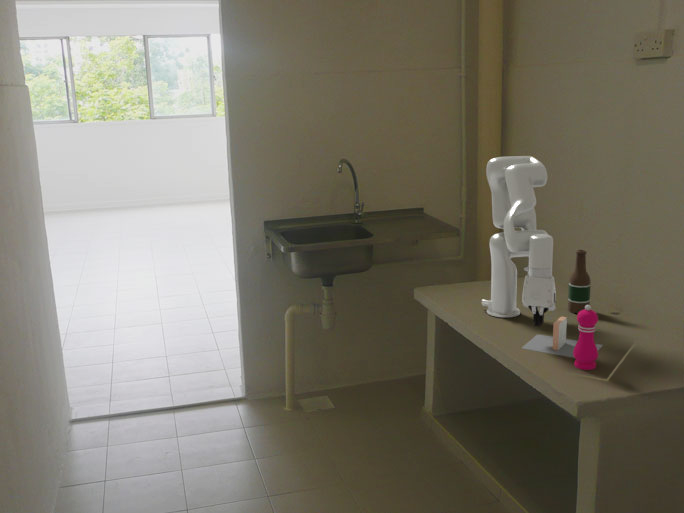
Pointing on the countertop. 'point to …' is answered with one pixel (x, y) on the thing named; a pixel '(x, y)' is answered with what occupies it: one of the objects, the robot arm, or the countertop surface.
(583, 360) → the pepper mill
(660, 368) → the countertop surface
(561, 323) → the tile
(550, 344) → the mat
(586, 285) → the beer bottle
